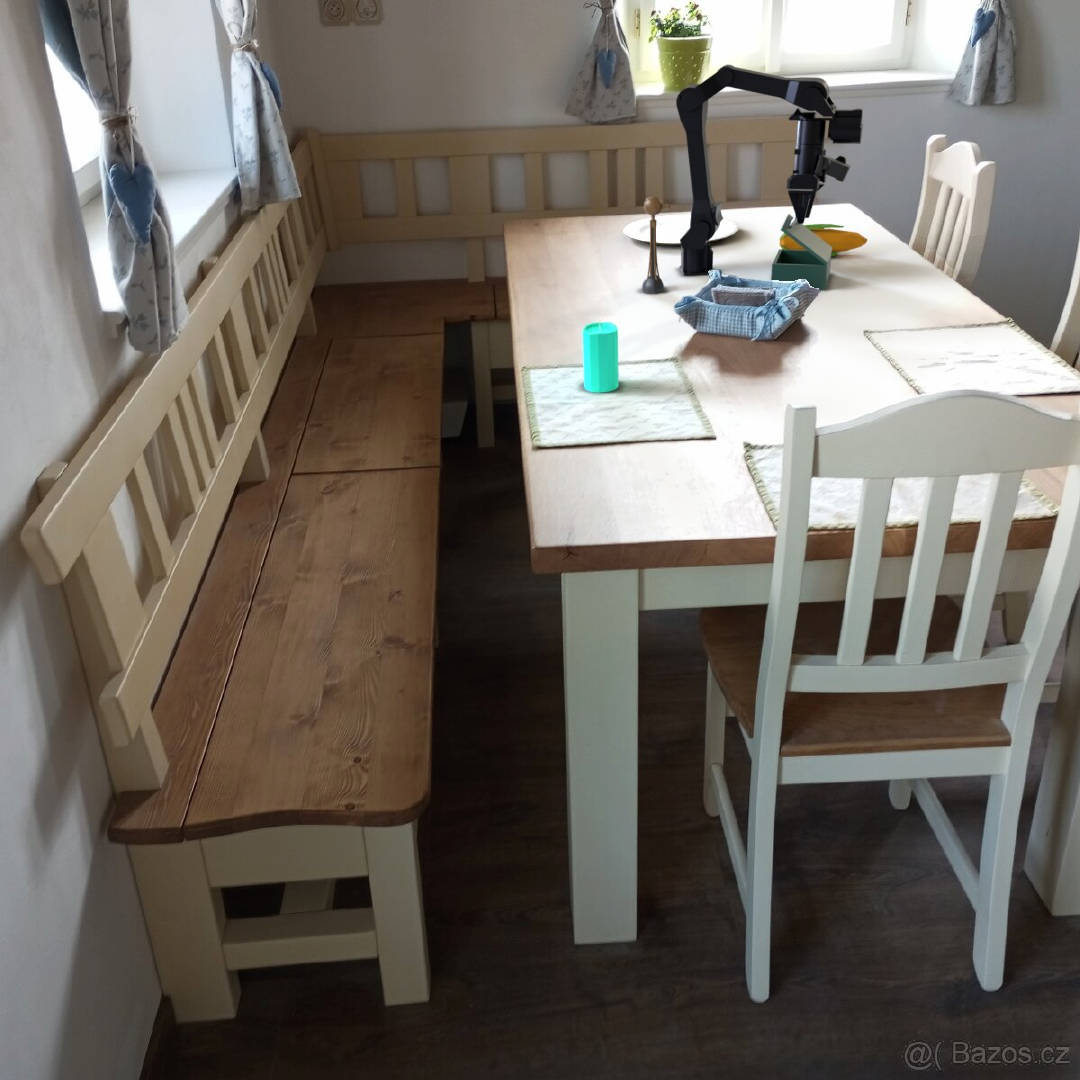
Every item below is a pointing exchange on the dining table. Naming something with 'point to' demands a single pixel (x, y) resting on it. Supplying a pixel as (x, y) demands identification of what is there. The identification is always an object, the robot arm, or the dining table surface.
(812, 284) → the chest
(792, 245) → the corn
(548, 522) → the dining table surface
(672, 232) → the plate
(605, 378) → the candle
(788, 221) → the lid
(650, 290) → the wooden tabletop sculpture
